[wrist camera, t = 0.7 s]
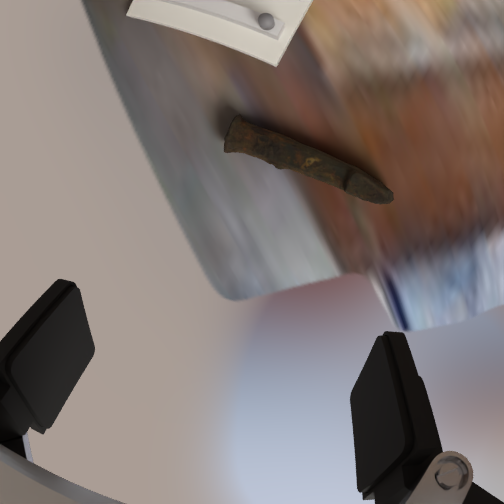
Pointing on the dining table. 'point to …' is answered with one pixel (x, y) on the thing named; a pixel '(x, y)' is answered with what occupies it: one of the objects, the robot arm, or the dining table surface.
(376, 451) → the robot arm
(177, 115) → the dining table surface
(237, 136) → the hand tool
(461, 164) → the dining table surface
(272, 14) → the slider channel
